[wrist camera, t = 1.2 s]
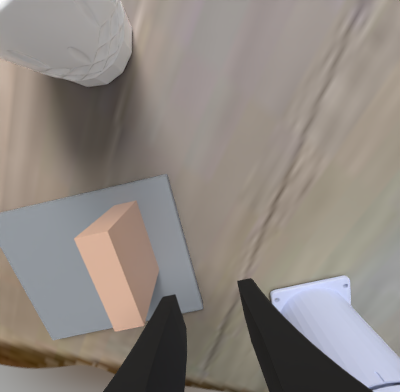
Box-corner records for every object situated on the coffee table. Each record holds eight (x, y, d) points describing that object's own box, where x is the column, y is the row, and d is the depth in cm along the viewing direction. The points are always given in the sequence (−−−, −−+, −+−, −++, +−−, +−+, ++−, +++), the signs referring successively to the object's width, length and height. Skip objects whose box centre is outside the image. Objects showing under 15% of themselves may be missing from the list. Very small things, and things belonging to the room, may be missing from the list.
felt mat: (202, 302, 21) (203, 309, 21) (57, 333, 22) (52, 340, 21) (167, 173, 18) (165, 175, 17) (-7, 214, 18) (-16, 217, 17)
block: (159, 269, 19) (144, 325, 13) (137, 274, 19) (113, 331, 14) (136, 200, 17) (107, 231, 12) (112, 205, 17) (72, 238, 12)
